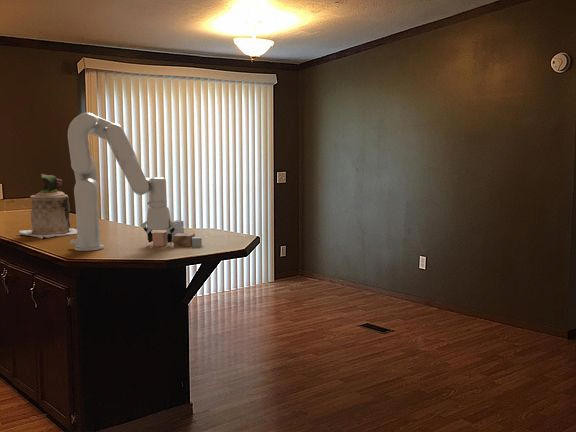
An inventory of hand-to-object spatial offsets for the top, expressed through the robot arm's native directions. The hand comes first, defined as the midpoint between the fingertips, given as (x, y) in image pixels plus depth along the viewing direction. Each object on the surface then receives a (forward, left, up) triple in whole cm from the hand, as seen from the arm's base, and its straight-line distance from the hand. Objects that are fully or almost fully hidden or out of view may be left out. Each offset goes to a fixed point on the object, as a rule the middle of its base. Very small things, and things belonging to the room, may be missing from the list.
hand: (160, 241), depth 264 cm
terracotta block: (0, 0, -2) cm, 2 cm away
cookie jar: (-72, +27, -2) cm, 77 cm away
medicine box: (0, +19, -2) cm, 19 cm away
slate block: (+18, -1, -2) cm, 18 cm away
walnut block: (+11, +2, -2) cm, 11 cm away
